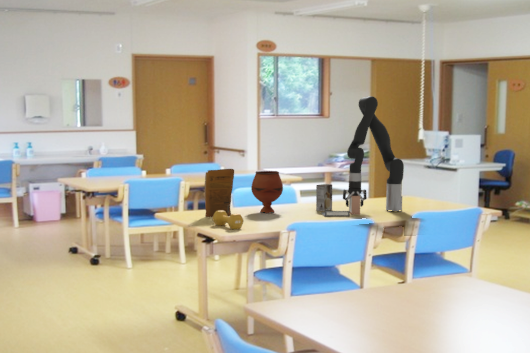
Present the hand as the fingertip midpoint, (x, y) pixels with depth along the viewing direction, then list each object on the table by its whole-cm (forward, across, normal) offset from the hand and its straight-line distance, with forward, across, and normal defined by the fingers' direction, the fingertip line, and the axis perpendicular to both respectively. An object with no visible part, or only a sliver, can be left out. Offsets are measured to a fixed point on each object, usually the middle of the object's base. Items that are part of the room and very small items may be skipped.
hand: (354, 206), depth 451 cm
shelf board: (+4, +13, +5) cm, 14 cm away
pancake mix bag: (+4, +83, +8) cm, 83 cm away
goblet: (+4, +53, -7) cm, 54 cm away
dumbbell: (+5, +80, +46) cm, 92 cm away
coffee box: (+4, +16, -15) cm, 22 cm away
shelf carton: (+4, 0, 0) cm, 4 cm away
